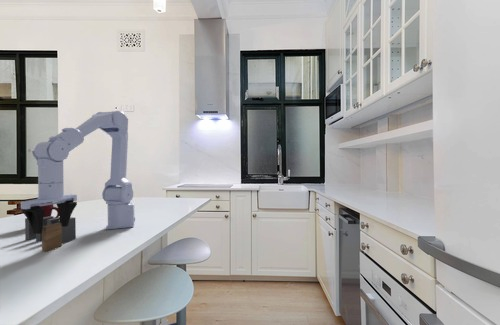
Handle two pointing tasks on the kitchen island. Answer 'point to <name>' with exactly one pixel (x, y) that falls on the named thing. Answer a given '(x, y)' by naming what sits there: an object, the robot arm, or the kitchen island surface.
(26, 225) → the domino
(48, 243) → the domino
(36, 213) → the robot arm
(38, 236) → the domino
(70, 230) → the domino
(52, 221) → the domino
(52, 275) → the kitchen island surface
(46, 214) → the mug
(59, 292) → the kitchen island surface
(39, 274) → the kitchen island surface
